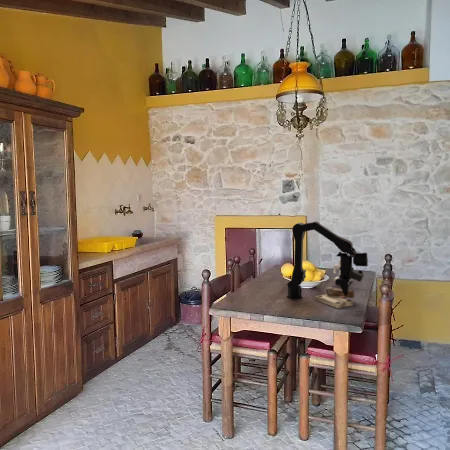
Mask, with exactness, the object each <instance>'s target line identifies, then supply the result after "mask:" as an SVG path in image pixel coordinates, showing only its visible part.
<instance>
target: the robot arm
mask: <svg viewBox="0 0 450 450" xmlns="http://www.w3.org/2000/svg"><path fill="white" fill-rule="evenodd" d="M291 228H292V235H293V239H294V264H293V270H292V274H291V277H290V278H291V279H290V280H289V282H287V283H286V286H287V295H286V298H288V299H291V300H298V299H303V298H304V297H303V296H302V293H303V292H302V291H303V290H302V286H301V284H302V283H303V282H304V281H305V279H306V278H307V276H306V273H307V269H304V267H303V259H304V258H303V257H304V255H303V254H304V253H303V252H304V238H305V235H306V232H309V231H316V232H317V234H320V235H321V236H323V238H325V239H327V240H329V241H330V242H331V243H332V244H334V245H335V246H336V248H337V249H338V250H339V252H338V253H337V254H336V257H340V258H339V259H340V268H339V269H338V270H340V276H339V275H338V277H339V278H338V279H337V280H334V285H337V286H340V289H342V291H343V293H344V296H347V294H348V290H350V285H352V284H353V283H354V281H356V282H362V281H363V279H364V277H365V274H364V271H363V270H361V269H359V270H354V266H355V267H368V265H369V258H368V252H357V250H356V249H355V248H354V245H353V242H352V241H351V240H349V239H347V238H344V237H342V236H339V235H337V234H336V233H334V232H333V231H332V230H330V229H328V228H327V227H326V226H324V225H322V224H321V223H320V222H319V221H313V222H306V223H303V222H298V223H296V224H294V225H292V227H291ZM353 264H354V266H353ZM351 280H353V281H351Z"/></svg>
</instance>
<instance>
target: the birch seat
mask: <svg viewBox="0 0 450 450" xmlns="http://www.w3.org/2000/svg"><path fill="white" fill-rule="evenodd" d="M315 301H318V302H320V303H322V304H325V305H328V306H331V307H333V308H335V309H340V308H346V307H351V306H354V300H351V299H349V298H347V297H344V298H343V297H340V296H334V295H327V293H326V294H319V295H316V296H315Z"/></svg>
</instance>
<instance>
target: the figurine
mask: <svg viewBox="0 0 450 450" xmlns="http://www.w3.org/2000/svg"><path fill="white" fill-rule="evenodd" d="M339 268H340V258H339V259H338V264H333V268H332V271H333V272H332V273H333V274H337V270H339ZM339 276H340V270H339V271H338V276H335V277H334V278H333V280H334V281H335V280H337V279H338V278H339Z"/></svg>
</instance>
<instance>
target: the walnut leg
mask: <svg viewBox="0 0 450 450" xmlns="http://www.w3.org/2000/svg"><path fill="white" fill-rule="evenodd" d="M326 294H327V295H334V296H341V297H344V298H348V299H349V298H351V299H353V298H355V290H351V289H349V290H348V294H347V296H344V293H343V291H342V289H341V288H334V287H331V286H329V287H327V288H326Z"/></svg>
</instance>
